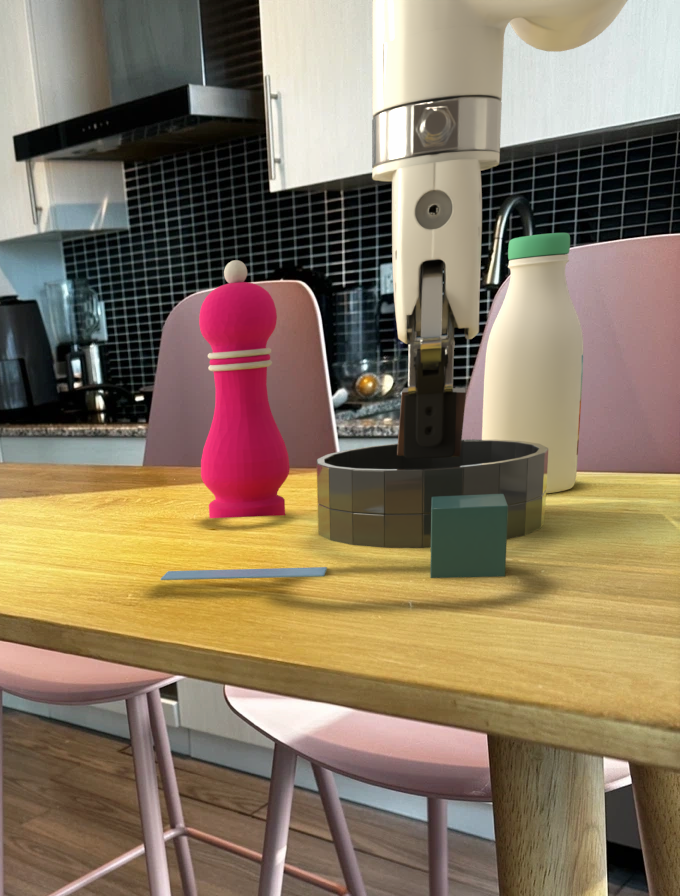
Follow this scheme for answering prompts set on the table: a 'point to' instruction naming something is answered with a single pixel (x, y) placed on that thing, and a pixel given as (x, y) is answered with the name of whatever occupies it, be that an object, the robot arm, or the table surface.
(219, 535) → the table surface
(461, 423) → the walnut block
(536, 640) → the table surface
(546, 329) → the milk bottle
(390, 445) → the dark round bowl
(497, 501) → the teal block
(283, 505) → the pepper mill
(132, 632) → the table surface
